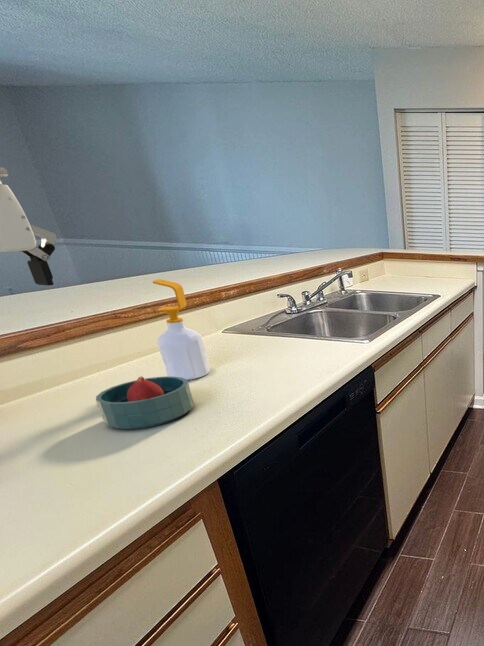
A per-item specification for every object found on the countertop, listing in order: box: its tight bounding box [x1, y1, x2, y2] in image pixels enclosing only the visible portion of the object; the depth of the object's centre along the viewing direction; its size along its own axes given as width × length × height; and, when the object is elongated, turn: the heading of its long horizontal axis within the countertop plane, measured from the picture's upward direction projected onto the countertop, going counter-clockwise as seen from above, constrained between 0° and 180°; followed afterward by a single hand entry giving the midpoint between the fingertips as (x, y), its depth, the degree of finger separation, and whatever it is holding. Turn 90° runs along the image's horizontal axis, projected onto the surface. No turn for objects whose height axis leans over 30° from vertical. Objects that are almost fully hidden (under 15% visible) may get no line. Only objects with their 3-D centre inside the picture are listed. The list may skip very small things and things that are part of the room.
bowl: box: [95, 376, 195, 430], centre depth 88 cm, size 15×15×6 cm
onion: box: [127, 375, 164, 402], centre depth 87 cm, size 6×6×8 cm
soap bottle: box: [152, 278, 211, 381], centre depth 106 cm, size 9×9×25 cm
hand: (8, 289), depth 69 cm, fingers open, 9 cm apart
